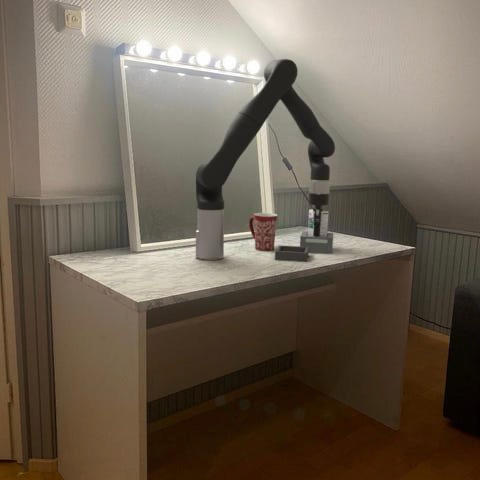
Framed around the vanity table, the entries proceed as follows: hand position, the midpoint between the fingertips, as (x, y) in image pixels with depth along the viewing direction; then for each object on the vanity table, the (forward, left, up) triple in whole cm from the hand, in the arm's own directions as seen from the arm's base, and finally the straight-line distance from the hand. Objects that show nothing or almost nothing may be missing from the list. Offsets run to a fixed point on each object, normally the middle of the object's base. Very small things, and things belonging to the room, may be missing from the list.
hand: (317, 234), depth 189 cm
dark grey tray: (-8, -16, -6) cm, 19 cm away
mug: (-21, -3, -6) cm, 22 cm away
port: (0, 0, -6) cm, 6 cm away
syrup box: (0, 0, -5) cm, 5 cm away
